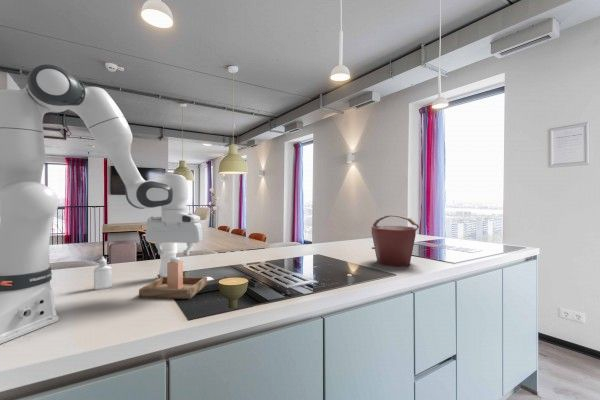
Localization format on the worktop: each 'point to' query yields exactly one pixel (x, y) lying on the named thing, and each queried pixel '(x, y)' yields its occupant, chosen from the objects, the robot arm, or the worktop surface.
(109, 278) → the eye dropper bottle
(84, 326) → the worktop surface
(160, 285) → the tray
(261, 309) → the worktop surface
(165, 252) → the water bottle
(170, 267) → the shaker
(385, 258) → the bucket
